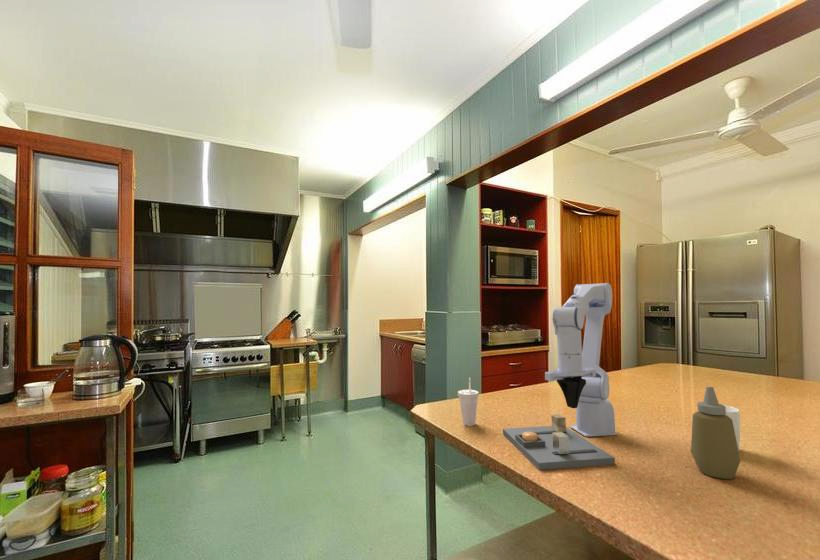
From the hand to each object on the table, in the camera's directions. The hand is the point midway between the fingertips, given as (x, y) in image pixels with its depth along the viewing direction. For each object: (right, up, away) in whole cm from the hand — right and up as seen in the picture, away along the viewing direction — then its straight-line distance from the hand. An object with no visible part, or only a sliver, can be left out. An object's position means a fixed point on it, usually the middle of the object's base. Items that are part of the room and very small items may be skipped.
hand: (572, 407), depth 92 cm
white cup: (+35, -9, -3) cm, 37 cm away
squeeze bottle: (+24, -9, -15) cm, 30 cm away
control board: (-5, -10, 0) cm, 11 cm away
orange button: (-11, -9, -1) cm, 14 cm away
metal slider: (-6, -8, -7) cm, 12 cm away
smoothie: (-23, -12, +19) cm, 32 cm away
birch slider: (-1, -9, +6) cm, 11 cm away
